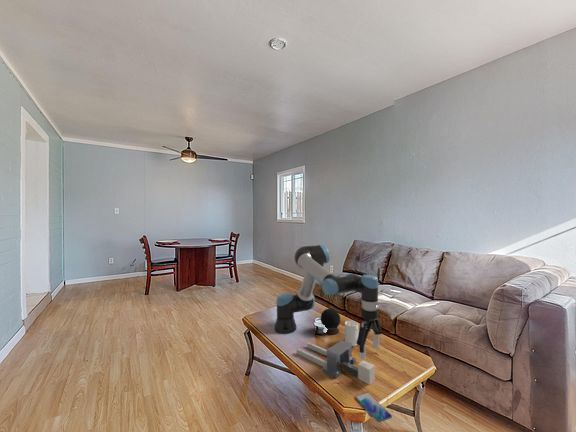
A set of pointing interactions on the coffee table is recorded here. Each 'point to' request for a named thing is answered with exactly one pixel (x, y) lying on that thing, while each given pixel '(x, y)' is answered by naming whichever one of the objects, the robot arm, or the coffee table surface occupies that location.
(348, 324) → the mug
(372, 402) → the smartphone
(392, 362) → the coffee table surface
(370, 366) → the plug
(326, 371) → the housing
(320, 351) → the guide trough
